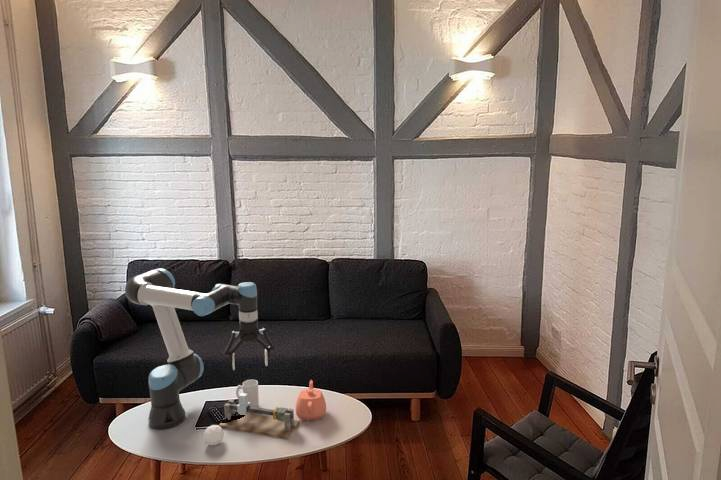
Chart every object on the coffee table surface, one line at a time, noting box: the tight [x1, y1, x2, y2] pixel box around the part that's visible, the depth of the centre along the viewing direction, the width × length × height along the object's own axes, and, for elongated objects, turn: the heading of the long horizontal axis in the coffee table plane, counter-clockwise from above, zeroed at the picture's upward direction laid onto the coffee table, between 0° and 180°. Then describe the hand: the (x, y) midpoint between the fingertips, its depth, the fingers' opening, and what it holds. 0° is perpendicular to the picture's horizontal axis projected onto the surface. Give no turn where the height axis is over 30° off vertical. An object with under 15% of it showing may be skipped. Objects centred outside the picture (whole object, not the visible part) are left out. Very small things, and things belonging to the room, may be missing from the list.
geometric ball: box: [203, 424, 225, 446], centre depth 212 cm, size 8×8×8 cm
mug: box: [235, 379, 260, 408], centre depth 238 cm, size 10×7×12 cm, turn 88°
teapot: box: [295, 379, 327, 422], centre depth 232 cm, size 13×20×12 cm, turn 4°
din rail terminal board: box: [218, 399, 301, 440], centre depth 224 cm, size 32×12×9 cm, turn 73°
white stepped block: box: [236, 392, 250, 415], centre depth 225 cm, size 4×4×8 cm
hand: (250, 366), depth 224 cm, fingers open, 13 cm apart
